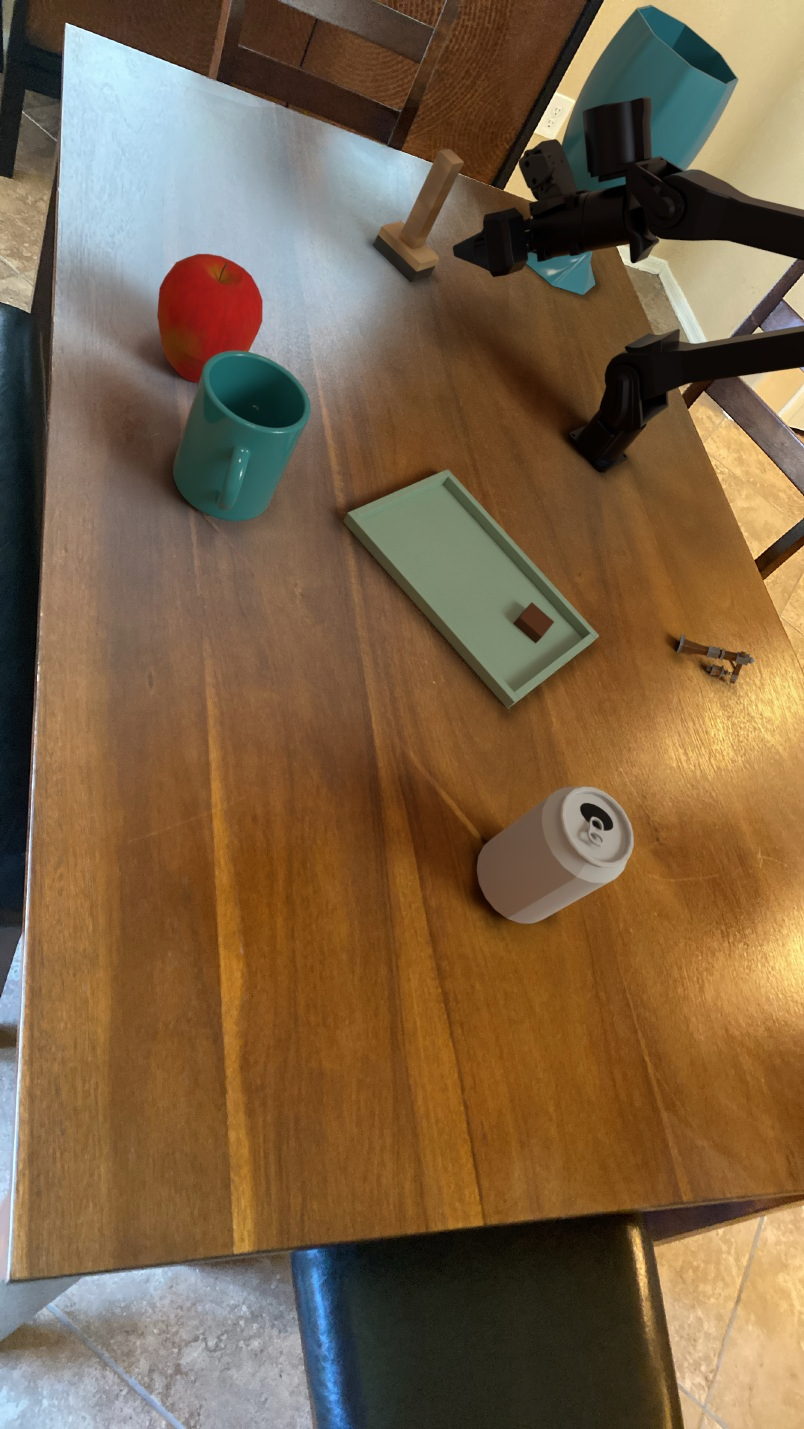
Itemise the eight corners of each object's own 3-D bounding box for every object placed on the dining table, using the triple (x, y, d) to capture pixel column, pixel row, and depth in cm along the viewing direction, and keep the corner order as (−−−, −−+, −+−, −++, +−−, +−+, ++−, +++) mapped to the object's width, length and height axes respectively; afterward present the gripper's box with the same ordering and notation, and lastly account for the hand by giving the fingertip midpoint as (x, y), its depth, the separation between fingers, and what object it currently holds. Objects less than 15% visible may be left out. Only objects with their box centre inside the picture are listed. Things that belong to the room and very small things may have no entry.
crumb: (525, 608, 87) (532, 601, 86) (548, 628, 87) (554, 621, 86) (512, 623, 85) (519, 616, 84) (535, 643, 85) (542, 637, 84)
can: (558, 865, 73) (649, 807, 64) (540, 943, 69) (636, 893, 60) (484, 823, 72) (565, 758, 63) (460, 900, 67) (545, 842, 58)
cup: (155, 529, 73) (187, 430, 64) (180, 434, 79) (211, 333, 71) (259, 563, 76) (302, 473, 67) (274, 469, 82) (315, 376, 74)
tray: (440, 480, 92) (447, 468, 91) (589, 645, 89) (599, 635, 88) (340, 524, 82) (347, 512, 81) (504, 711, 80) (514, 702, 78)
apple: (229, 345, 88) (265, 238, 79) (248, 410, 85) (287, 306, 76) (136, 329, 84) (163, 213, 74) (152, 397, 80) (182, 284, 71)
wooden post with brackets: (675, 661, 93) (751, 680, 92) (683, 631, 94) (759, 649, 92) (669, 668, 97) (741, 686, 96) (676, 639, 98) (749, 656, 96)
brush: (430, 275, 112) (482, 174, 102) (411, 282, 110) (462, 178, 99) (392, 239, 113) (440, 134, 102) (372, 244, 110) (420, 137, 100)
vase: (522, 281, 122) (660, 54, 100) (491, 207, 130) (613, -21, 107) (615, 312, 131) (763, 108, 108) (581, 239, 138) (712, 35, 115)
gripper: (623, 128, 97) (503, 159, 107) (545, 142, 85) (417, 176, 95) (630, 239, 103) (515, 259, 112) (557, 266, 91) (436, 287, 100)
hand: (474, 244), depth 105 cm, fingers open, 9 cm apart
